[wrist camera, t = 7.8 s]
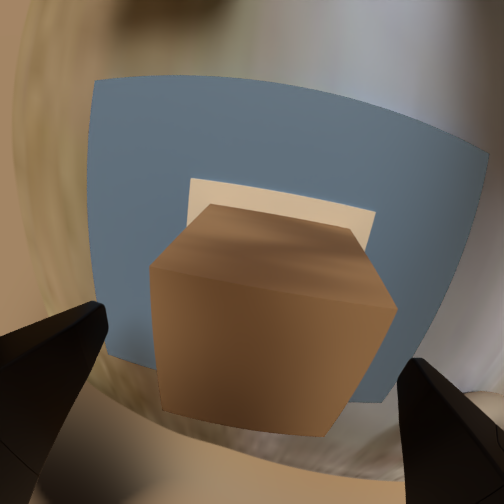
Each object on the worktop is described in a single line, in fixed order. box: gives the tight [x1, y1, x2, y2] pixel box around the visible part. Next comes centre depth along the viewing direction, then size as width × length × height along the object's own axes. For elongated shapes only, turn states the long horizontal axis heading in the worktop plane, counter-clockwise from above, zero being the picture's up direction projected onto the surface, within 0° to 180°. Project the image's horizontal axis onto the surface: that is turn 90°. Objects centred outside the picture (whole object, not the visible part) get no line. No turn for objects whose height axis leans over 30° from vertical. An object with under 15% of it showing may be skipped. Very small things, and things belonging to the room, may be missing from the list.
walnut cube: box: [149, 204, 398, 437], centre depth 8 cm, size 5×5×5 cm
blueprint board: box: [87, 75, 489, 403], centre depth 11 cm, size 16×14×1 cm
